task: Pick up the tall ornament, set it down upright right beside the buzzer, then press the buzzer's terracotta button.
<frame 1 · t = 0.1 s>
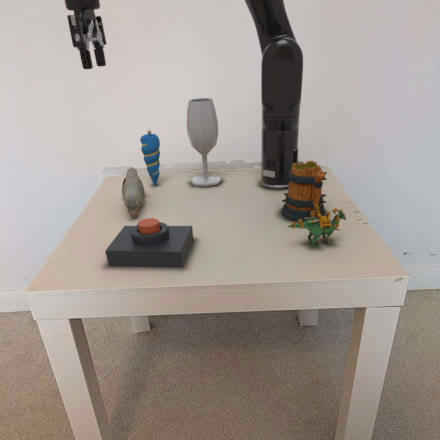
hand: (95, 67, 97), 29 cm above the table, tool pointing down, fingers open, 8 cm apart
figurine: (314, 245, 76), on the table
button: (148, 226, 74), point 5 cm above the table, slide at 0.1 cm
decorative bird: (135, 207, 98), on the table
buzzer: (153, 252, 77), on the table
ornament: (156, 185, 111), on the table
wineglass: (206, 182, 111), on the table
mug: (305, 216, 88), on the table
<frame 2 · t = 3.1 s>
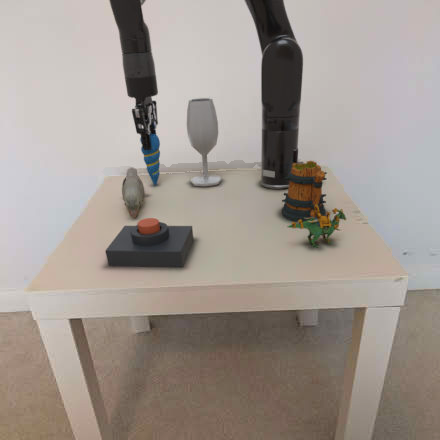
hand: (150, 146, 106), 10 cm above the table, tool pointing down, fingers closed on ornament, 5 cm apart
ornament: (156, 185, 111), on the table, touching gripper
everything else where it was.
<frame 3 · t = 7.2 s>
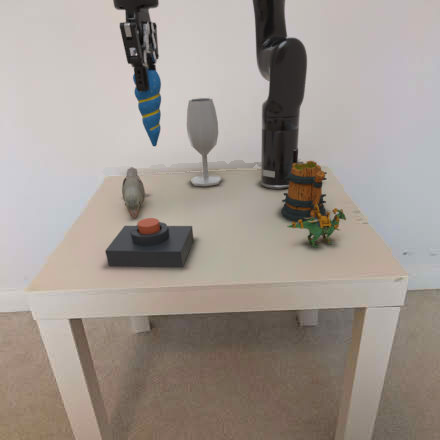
hand: (147, 88, 74), 27 cm above the table, tool pointing down, fingers closed on ornament, 5 cm apart
ornament: (155, 147, 80), point 16 cm above the table, touching gripper
everything else where it was.
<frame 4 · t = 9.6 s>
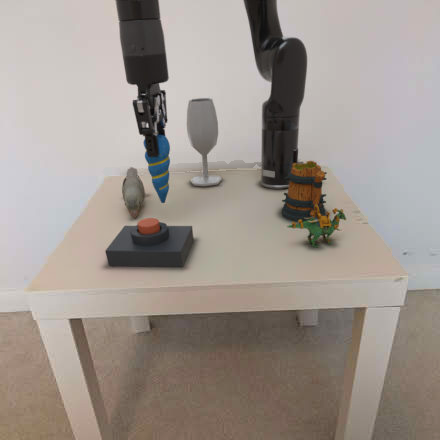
hand: (157, 152, 78), 16 cm above the table, tool pointing down, fingers closed on ornament, 5 cm apart
ornament: (164, 203, 84), point 5 cm above the table, touching gripper
everything else where it was.
when the fingers open (10 cm above the table, at t = 11.4 s): ornament stays where it is, on the table.
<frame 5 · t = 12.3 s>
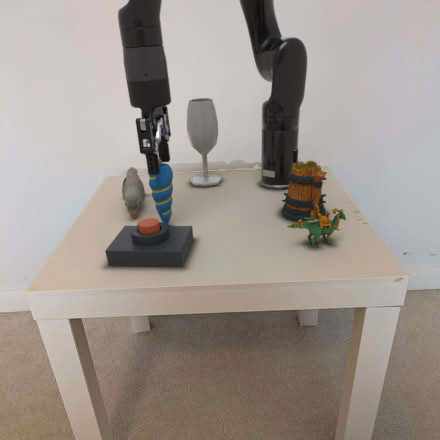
hand: (160, 167, 80), 13 cm above the table, tool pointing down, fingers open, 8 cm apart
ornament: (167, 227, 87), on the table
everything else where it was.
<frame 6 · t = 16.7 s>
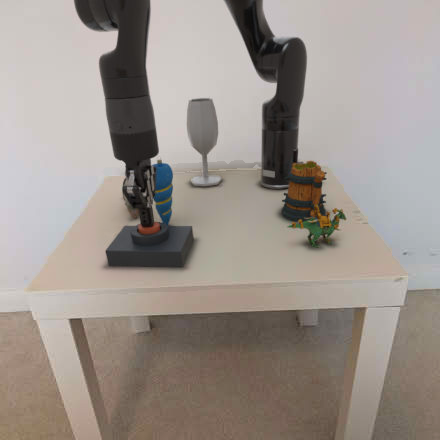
hand: (148, 225, 74), 6 cm above the table, tool pointing down, fingers closed
button: (149, 229, 74), point 5 cm above the table, slide at -0.6 cm, touching gripper
everything else where it was.
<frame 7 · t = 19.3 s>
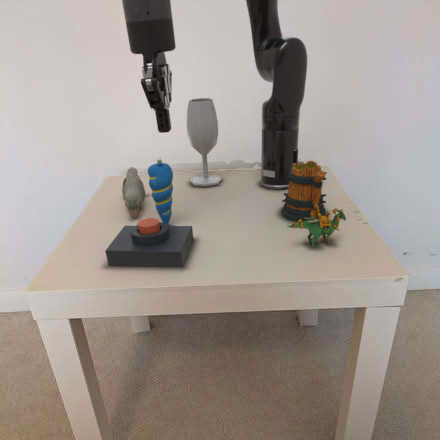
hand: (165, 131, 73), 20 cm above the table, tool pointing down, fingers closed
button: (148, 226, 74), point 5 cm above the table, slide at 0.1 cm
everything else where it was.
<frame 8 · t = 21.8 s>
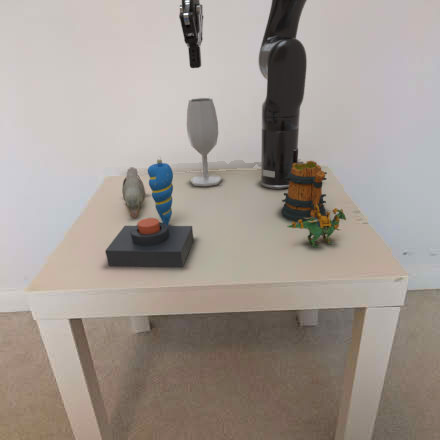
hand: (195, 67, 83), 29 cm above the table, tool pointing down, fingers closed
nothing on the table moved.
at the end: ornament 12.1 cm from the buzzer (horizontally); ornament tilted 0°; button pushed in 1.1 cm at the most during the clip, back to where it started at the end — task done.
